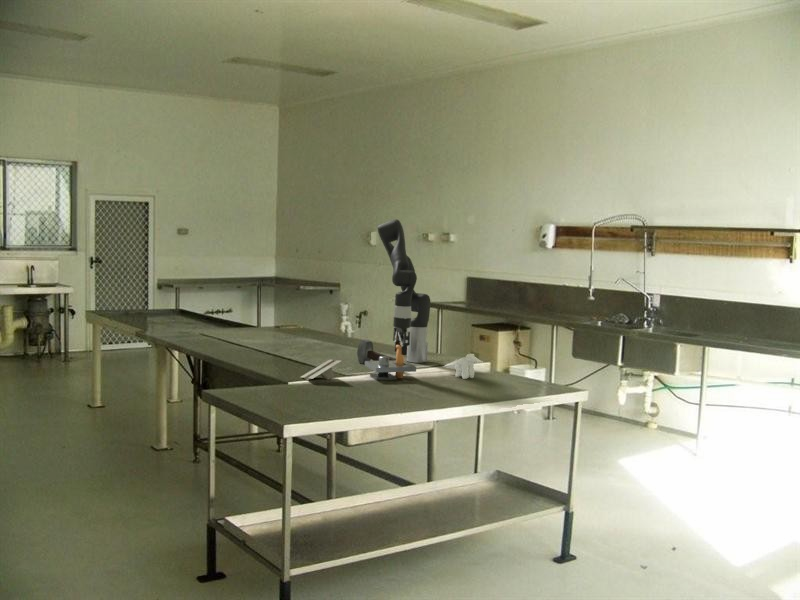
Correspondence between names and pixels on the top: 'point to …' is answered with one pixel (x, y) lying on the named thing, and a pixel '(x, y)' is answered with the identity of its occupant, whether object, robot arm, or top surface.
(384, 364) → the plate with round knob
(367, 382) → the top surface
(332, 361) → the gray slanted slat stand
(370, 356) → the hammer
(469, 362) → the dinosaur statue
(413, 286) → the robot arm
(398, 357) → the pin
